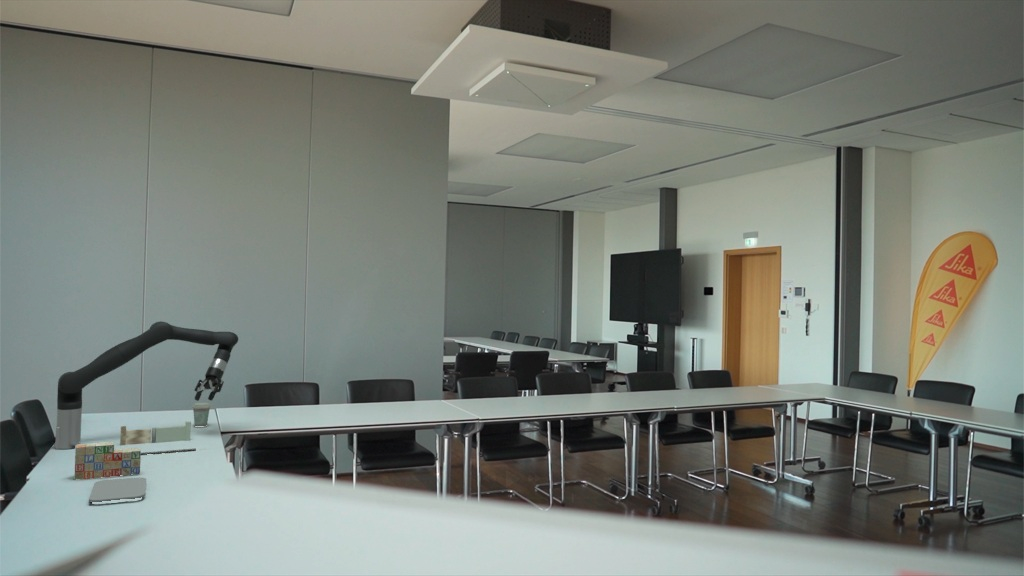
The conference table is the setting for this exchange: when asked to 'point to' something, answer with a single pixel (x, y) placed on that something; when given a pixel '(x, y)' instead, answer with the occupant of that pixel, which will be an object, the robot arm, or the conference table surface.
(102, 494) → the tablet
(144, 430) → the fixed fence panel
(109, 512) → the conference table surface
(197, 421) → the coffee cup
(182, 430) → the hinged fence panel
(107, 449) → the stack of blocks
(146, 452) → the board
